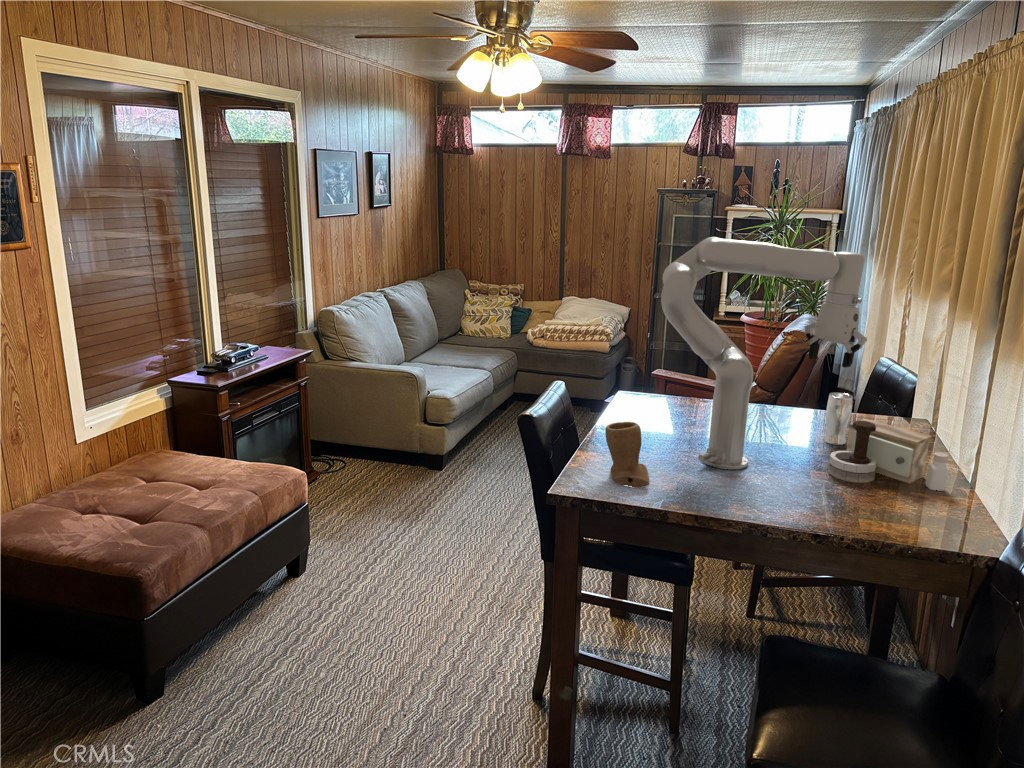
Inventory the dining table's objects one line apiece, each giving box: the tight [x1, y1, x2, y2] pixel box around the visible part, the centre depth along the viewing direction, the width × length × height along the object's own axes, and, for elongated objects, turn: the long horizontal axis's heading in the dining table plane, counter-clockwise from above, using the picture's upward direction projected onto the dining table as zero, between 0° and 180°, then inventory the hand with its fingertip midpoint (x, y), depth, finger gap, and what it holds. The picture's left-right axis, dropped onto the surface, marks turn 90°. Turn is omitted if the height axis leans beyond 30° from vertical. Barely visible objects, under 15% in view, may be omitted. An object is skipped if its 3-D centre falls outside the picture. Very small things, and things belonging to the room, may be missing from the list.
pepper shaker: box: [924, 452, 950, 492], centre depth 190 cm, size 4×4×10 cm
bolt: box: [849, 420, 876, 464], centre depth 197 cm, size 6×5×15 cm
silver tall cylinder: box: [823, 392, 854, 446], centre depth 224 cm, size 7×7×15 cm
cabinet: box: [827, 418, 933, 484], centre depth 198 cm, size 21×19×12 cm
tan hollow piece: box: [605, 421, 650, 488], centre depth 192 cm, size 15×12×15 cm
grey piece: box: [828, 431, 914, 477], centre depth 195 cm, size 12×18×8 cm, turn 30°
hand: (829, 362), depth 196 cm, fingers open, 9 cm apart
